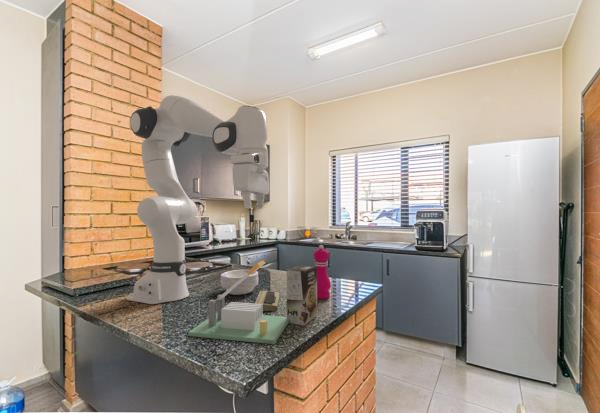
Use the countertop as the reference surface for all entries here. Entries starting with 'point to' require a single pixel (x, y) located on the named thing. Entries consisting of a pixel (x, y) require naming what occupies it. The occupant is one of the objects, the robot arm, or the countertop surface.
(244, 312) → the heatsink board
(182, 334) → the countertop surface
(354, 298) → the countertop surface
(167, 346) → the countertop surface
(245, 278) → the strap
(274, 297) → the computer
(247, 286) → the paper bowls
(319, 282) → the pepper mill
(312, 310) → the coffee box
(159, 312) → the countertop surface
